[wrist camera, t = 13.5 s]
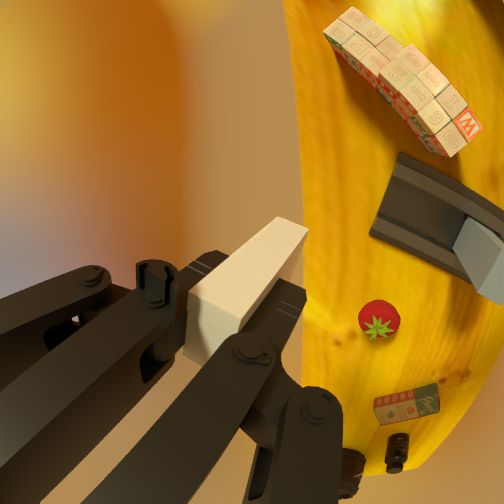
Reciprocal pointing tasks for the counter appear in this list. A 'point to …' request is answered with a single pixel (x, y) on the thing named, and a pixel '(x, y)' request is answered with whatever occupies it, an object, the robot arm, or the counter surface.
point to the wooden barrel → (350, 472)
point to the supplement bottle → (396, 452)
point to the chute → (431, 214)
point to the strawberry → (379, 319)
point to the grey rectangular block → (482, 259)
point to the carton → (407, 405)
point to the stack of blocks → (405, 82)
